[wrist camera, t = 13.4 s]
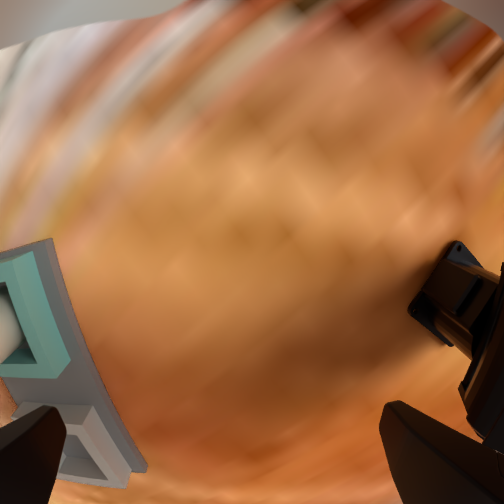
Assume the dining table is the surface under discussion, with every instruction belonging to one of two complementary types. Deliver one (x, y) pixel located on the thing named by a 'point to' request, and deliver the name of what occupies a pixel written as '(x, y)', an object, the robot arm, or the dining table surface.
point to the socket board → (62, 372)
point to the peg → (9, 326)
